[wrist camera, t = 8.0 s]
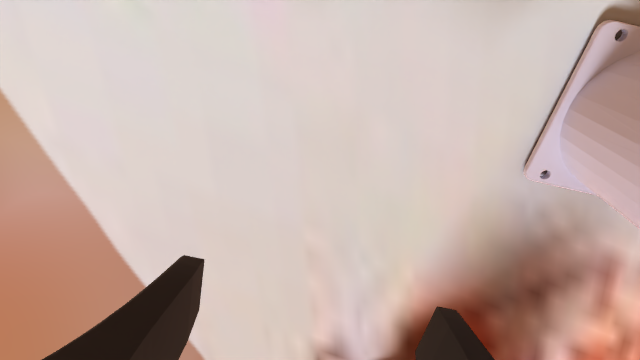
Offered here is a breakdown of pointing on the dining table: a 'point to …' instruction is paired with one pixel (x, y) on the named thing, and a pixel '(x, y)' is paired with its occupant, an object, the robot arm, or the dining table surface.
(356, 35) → the dining table surface
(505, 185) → the dining table surface
